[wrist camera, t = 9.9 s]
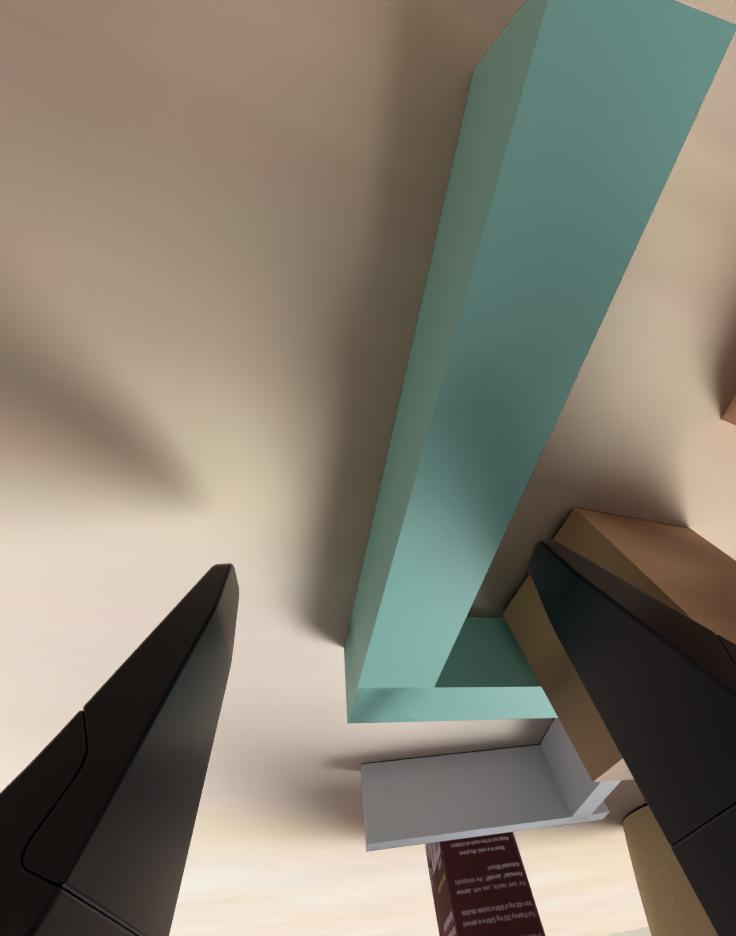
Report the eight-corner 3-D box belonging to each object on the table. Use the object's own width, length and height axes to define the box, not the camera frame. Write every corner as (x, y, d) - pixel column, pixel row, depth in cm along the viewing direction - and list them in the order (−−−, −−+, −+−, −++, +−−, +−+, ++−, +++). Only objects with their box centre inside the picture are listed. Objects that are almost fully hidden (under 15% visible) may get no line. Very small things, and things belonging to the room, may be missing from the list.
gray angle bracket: (654, 617, 15) (724, 693, 12) (567, 749, 21) (602, 819, 18) (367, 638, 14) (376, 727, 11) (361, 772, 19) (366, 851, 17)
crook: (850, 193, 8) (1085, 162, 5) (548, 646, 15) (590, 717, 13) (469, 74, 6) (560, -45, 4) (343, 643, 14) (347, 723, 11)
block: (690, 528, 12) (891, 672, 8) (606, 622, 15) (728, 773, 10) (574, 507, 11) (741, 665, 7) (502, 613, 13) (593, 782, 9)
